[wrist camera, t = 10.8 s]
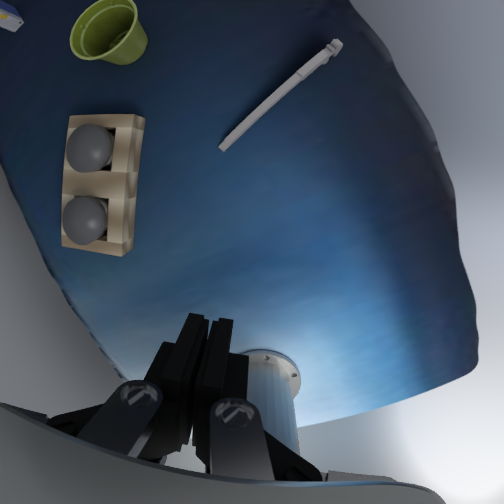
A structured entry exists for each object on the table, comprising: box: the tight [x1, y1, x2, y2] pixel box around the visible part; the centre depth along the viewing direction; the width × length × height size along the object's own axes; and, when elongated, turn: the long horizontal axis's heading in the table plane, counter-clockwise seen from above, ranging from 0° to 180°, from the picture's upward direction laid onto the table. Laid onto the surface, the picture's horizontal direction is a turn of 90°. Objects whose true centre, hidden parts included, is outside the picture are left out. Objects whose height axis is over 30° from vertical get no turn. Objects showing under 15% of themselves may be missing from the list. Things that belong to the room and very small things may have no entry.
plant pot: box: [70, 0, 148, 65], centre depth 29 cm, size 9×9×9 cm
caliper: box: [218, 39, 343, 152], centre depth 32 cm, size 20×1×6 cm, turn 134°
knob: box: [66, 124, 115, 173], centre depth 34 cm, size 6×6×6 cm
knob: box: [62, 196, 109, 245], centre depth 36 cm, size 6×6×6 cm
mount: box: [62, 114, 145, 257], centre depth 36 cm, size 18×10×4 cm, turn 172°
